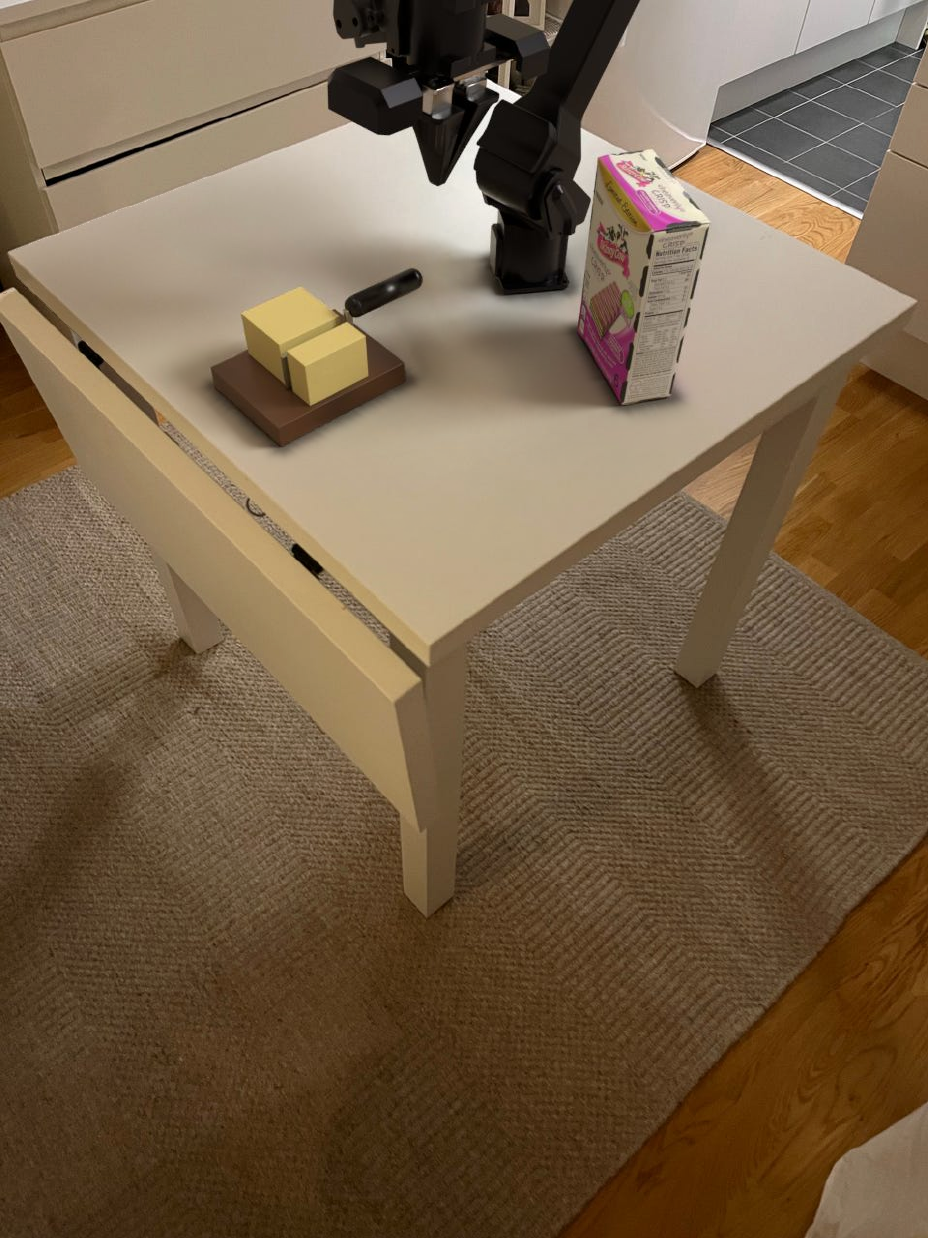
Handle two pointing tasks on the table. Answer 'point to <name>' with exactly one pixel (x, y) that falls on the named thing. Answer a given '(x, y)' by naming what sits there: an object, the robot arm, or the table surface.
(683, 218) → the candy bar box
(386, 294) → the knife
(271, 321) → the butter
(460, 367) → the table surface
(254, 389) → the board
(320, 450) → the table surface
